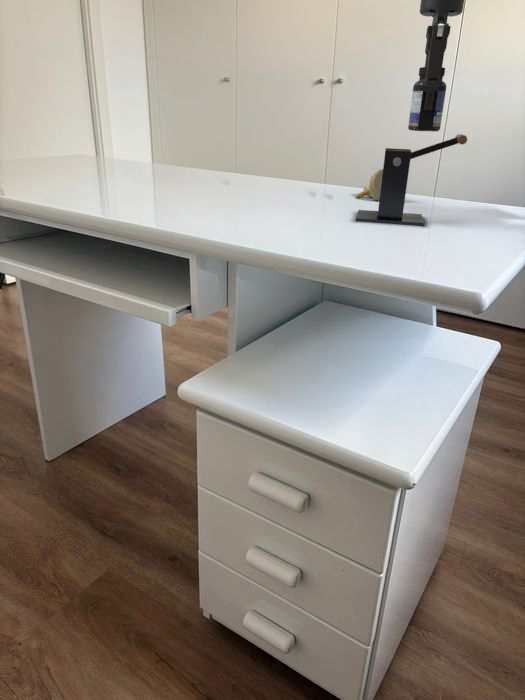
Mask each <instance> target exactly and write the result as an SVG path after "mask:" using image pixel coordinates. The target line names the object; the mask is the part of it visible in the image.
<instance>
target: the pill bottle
mask: <svg viewBox="0 0 525 700" xmlns="http://www.w3.org/2000/svg"><path fill="white" fill-rule="evenodd" d="M426 70H427V67H425V66H422V67H419V69H418V76H419V78H418V80H417V81H416V82H414V84H413V86H412V95H411V102H410V109H409V110H410V111H409V118H408V124H407V125H408V126H407V129H408V130H409V131H414V132H439V131H440V130H441V125H442V120H443V119H442V118H443V113H444V106H445V99H446V92H447V83H446V82H445V81H443V79H444V77H445V73H446V68H445V67H444V66H442V71H441V78H440V82H441V83H440V86H439V89H438V91H435V92H438V95H437V102H436V108H435V115H434V122H433V128H432V130H423V129H418V122H419V115H420V107H421V100H422V93H423V91H420V87H421V86H424V85H425V78H426ZM426 92H427V91H426Z"/></svg>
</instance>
